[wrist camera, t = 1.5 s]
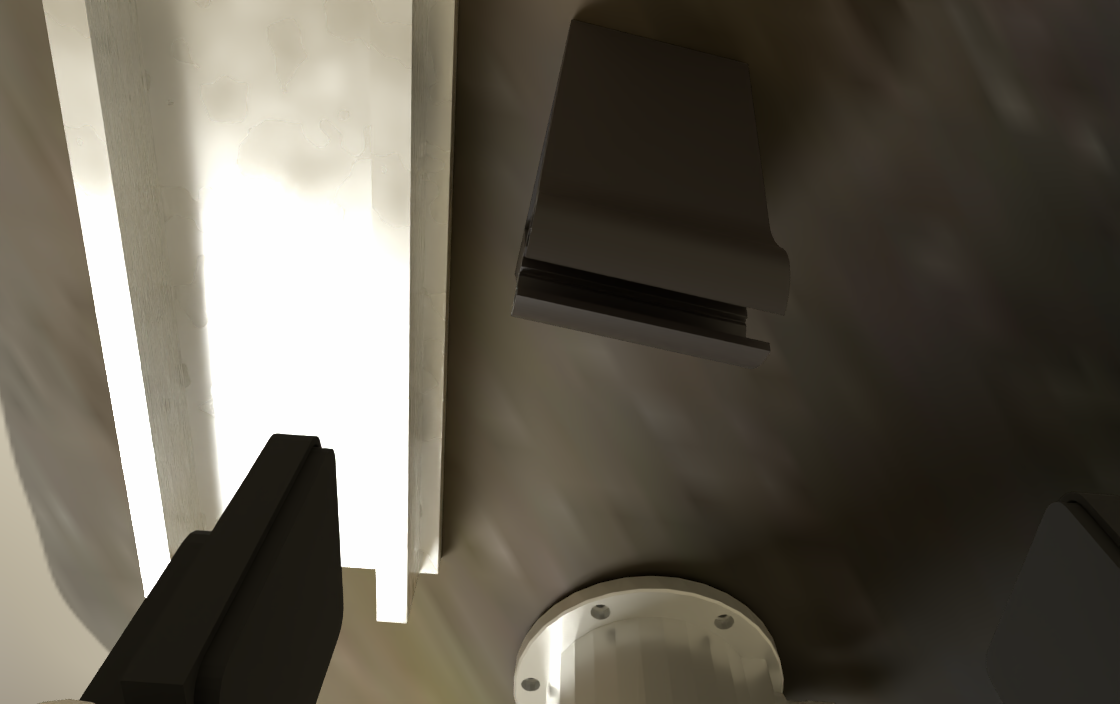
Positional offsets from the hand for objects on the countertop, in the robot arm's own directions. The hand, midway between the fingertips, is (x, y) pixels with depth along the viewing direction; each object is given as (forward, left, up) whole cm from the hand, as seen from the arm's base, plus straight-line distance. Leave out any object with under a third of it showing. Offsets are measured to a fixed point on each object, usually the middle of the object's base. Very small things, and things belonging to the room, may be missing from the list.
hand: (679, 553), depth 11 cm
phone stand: (0, 0, -21) cm, 21 cm away
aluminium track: (+12, +4, -20) cm, 24 cm away
